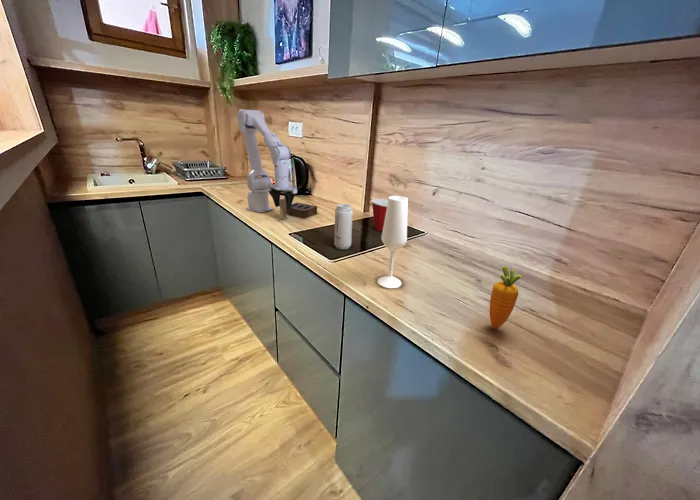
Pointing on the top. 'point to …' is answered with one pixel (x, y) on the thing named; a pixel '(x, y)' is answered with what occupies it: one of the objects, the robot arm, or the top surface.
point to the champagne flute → (394, 234)
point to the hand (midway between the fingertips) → (283, 207)
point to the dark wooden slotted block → (301, 210)
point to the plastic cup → (379, 212)
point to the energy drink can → (343, 226)
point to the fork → (282, 208)
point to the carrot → (503, 298)
